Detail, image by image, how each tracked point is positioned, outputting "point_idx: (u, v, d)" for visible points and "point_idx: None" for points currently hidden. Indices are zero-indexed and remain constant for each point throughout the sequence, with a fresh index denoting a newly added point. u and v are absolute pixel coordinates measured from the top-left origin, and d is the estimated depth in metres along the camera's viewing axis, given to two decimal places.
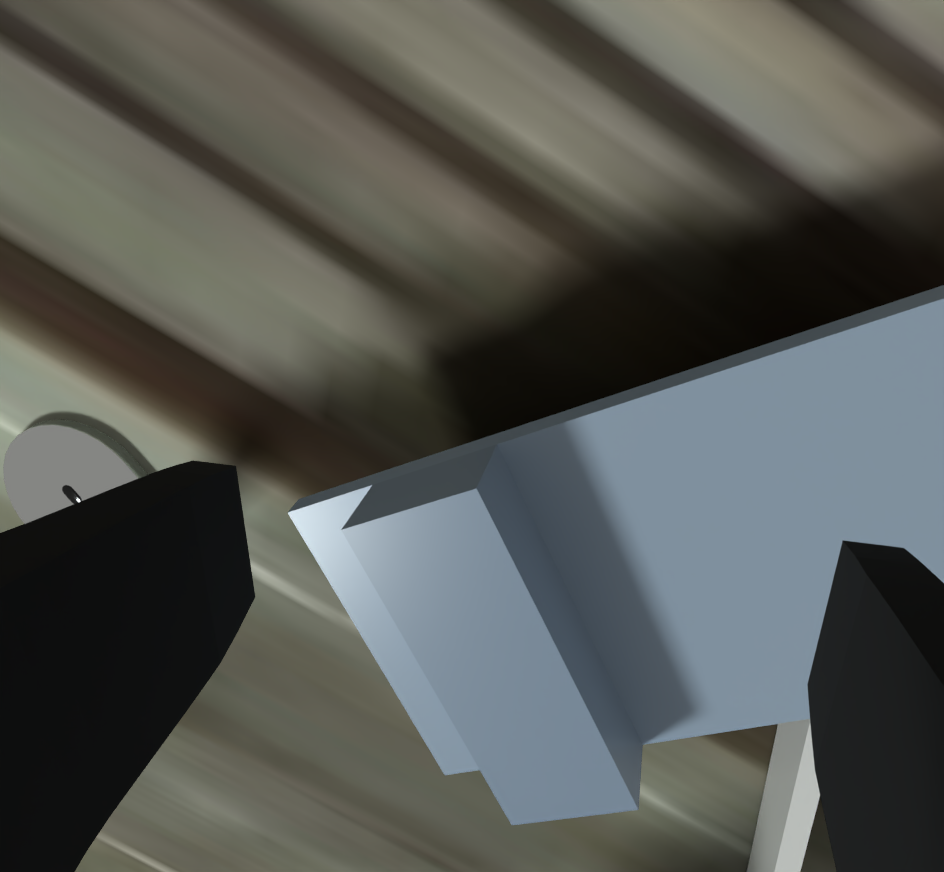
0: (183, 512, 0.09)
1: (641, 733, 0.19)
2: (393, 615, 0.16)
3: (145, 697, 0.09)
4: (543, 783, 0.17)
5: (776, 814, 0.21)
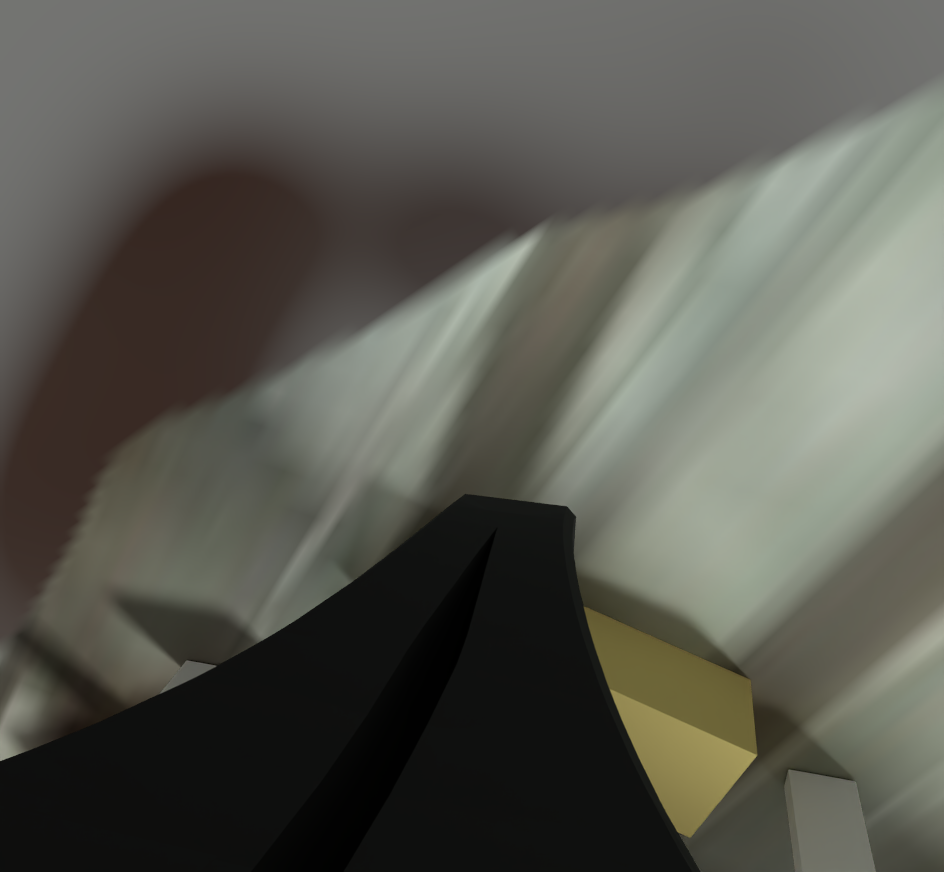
0: None
1: None
2: None
3: None
4: None
5: None
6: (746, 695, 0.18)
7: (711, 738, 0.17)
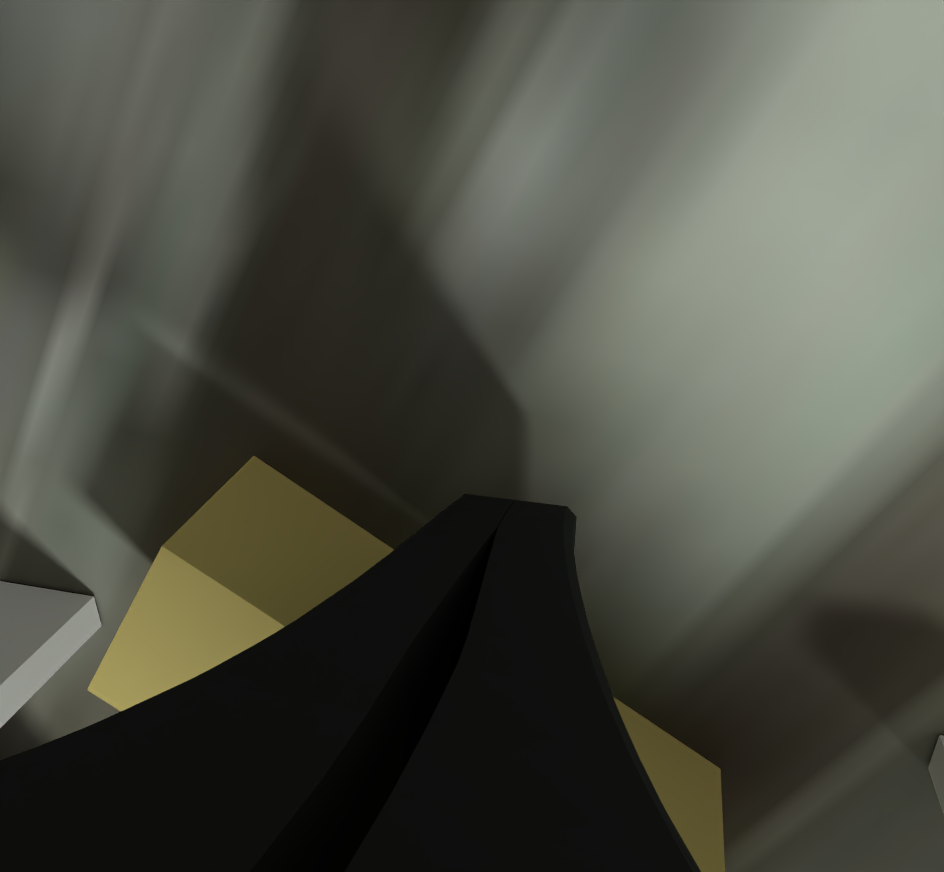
0: None
1: None
2: None
3: None
4: None
5: None
6: (713, 796, 0.11)
7: None
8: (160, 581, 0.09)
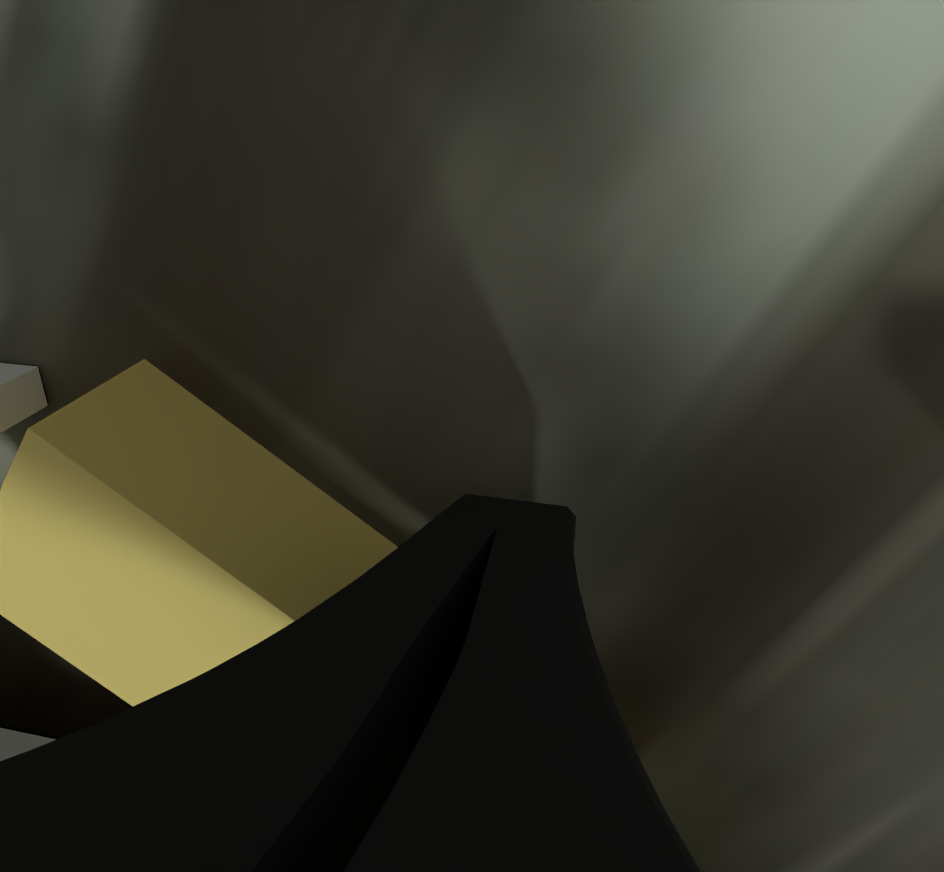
0: None
1: None
2: None
3: None
4: None
5: None
6: None
7: None
8: (27, 467, 0.09)
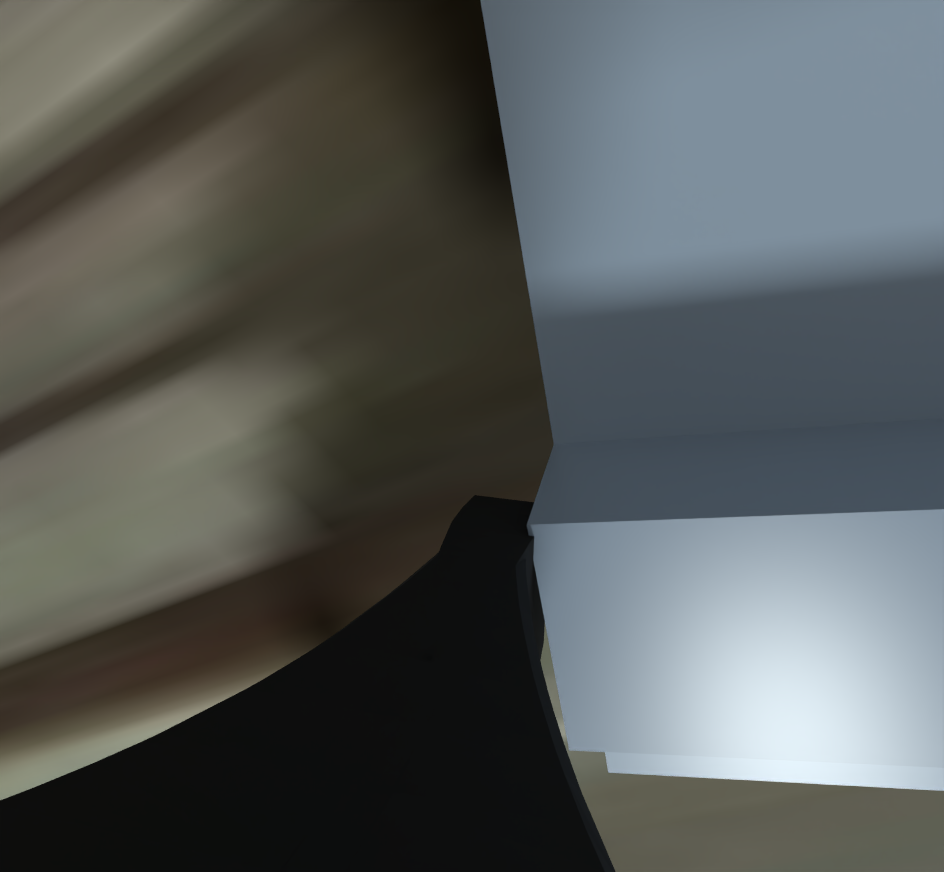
0: (531, 560, 0.08)
1: None
2: (774, 753, 0.09)
3: None
4: None
5: None
6: None
7: None
8: None
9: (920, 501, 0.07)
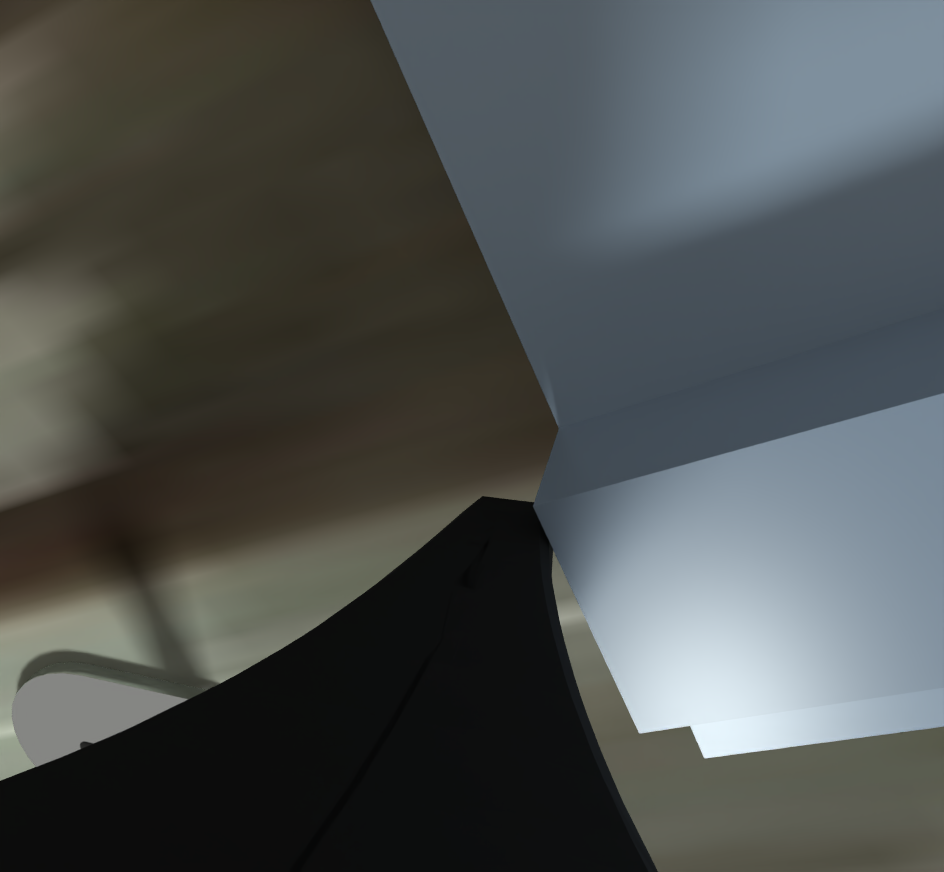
0: None
1: None
2: (851, 695, 0.08)
3: None
4: None
5: None
6: None
7: None
8: None
9: (923, 390, 0.07)
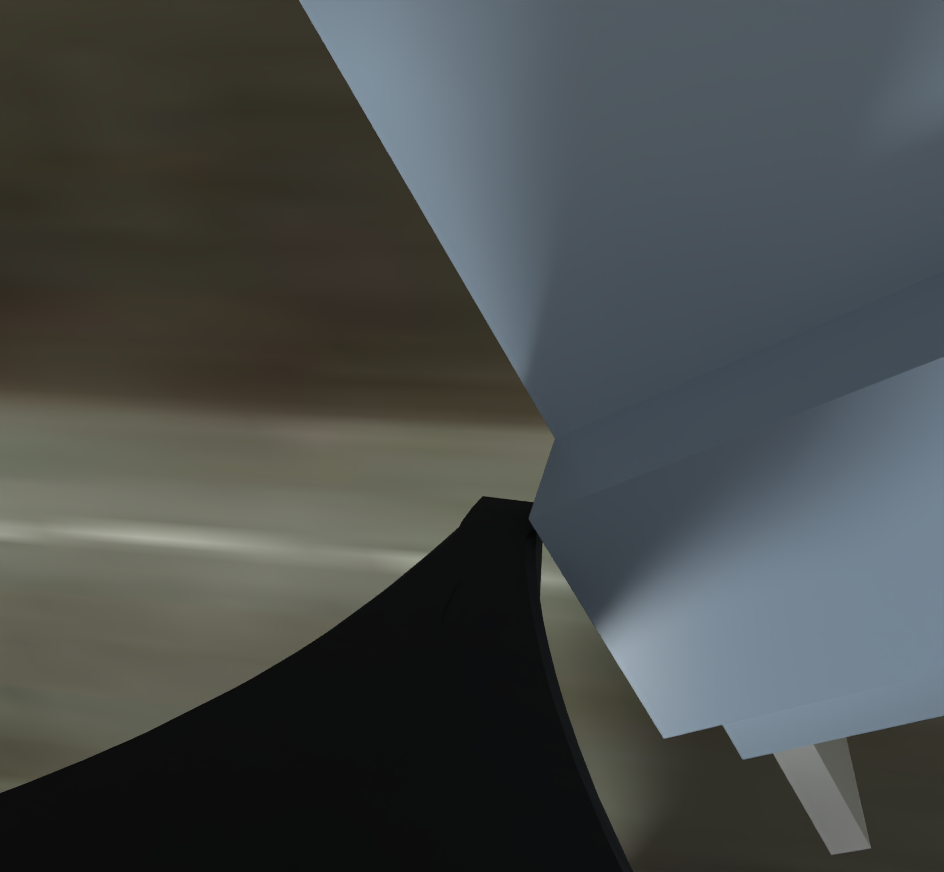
0: None
1: None
2: (873, 682, 0.08)
3: None
4: None
5: None
6: None
7: None
8: None
9: (903, 364, 0.07)
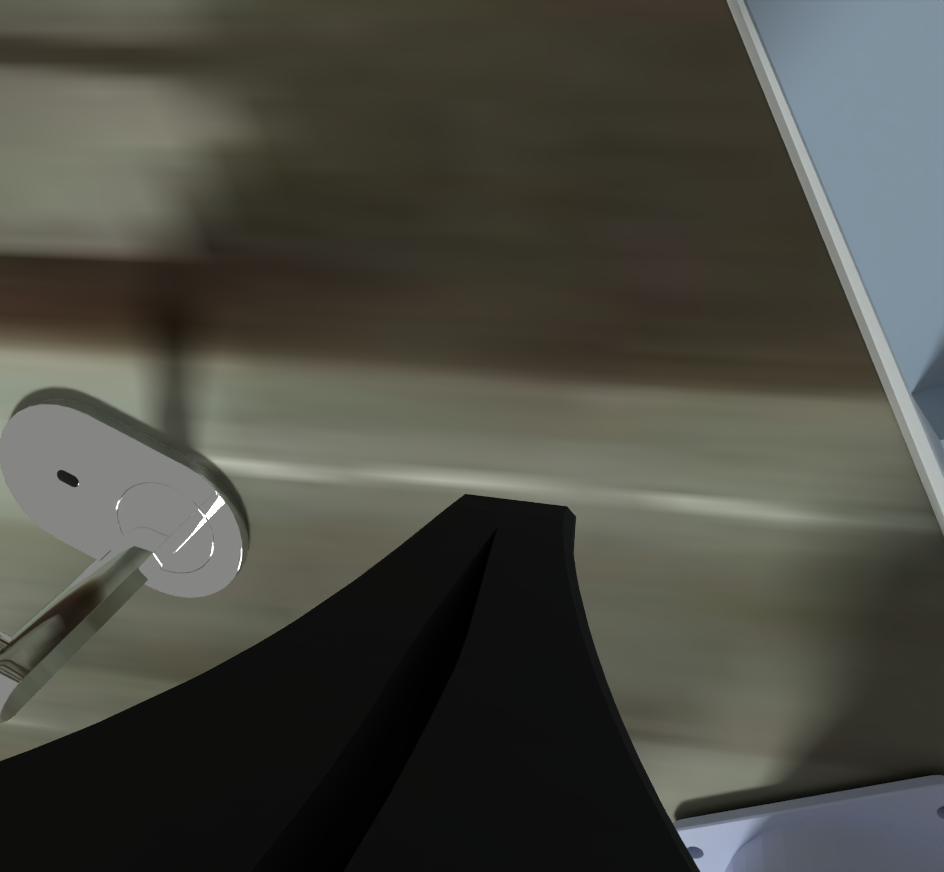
0: None
1: None
2: None
3: None
4: None
5: (899, 415, 0.16)
6: None
7: None
8: None
9: None
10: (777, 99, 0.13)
